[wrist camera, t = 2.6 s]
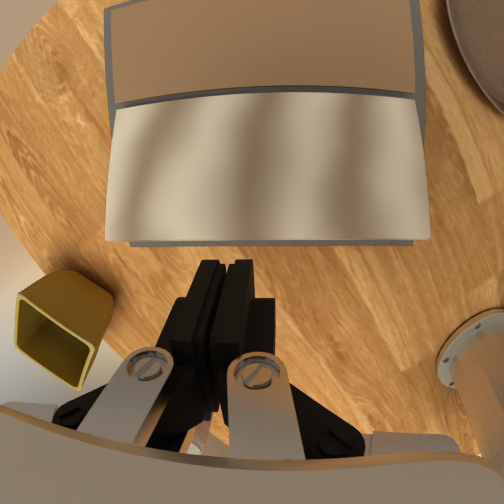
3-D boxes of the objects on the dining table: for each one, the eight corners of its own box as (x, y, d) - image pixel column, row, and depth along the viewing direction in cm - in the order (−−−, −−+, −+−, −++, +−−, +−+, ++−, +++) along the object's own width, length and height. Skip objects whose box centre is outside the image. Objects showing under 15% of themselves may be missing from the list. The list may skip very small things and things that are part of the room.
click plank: (408, 108, 21) (414, 99, 19) (421, 240, 20) (430, 238, 19) (124, 117, 23) (116, 109, 21) (115, 241, 23) (104, 240, 21)
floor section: (413, -5, 17) (424, -13, 15) (408, 240, 27) (418, 253, 24) (109, 11, 19) (95, 5, 17) (134, 242, 29) (123, 254, 27)
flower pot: (66, 246, 30) (15, 292, 22) (133, 290, 32) (94, 348, 24) (53, 300, 34) (13, 346, 26) (111, 338, 35) (79, 393, 27)
